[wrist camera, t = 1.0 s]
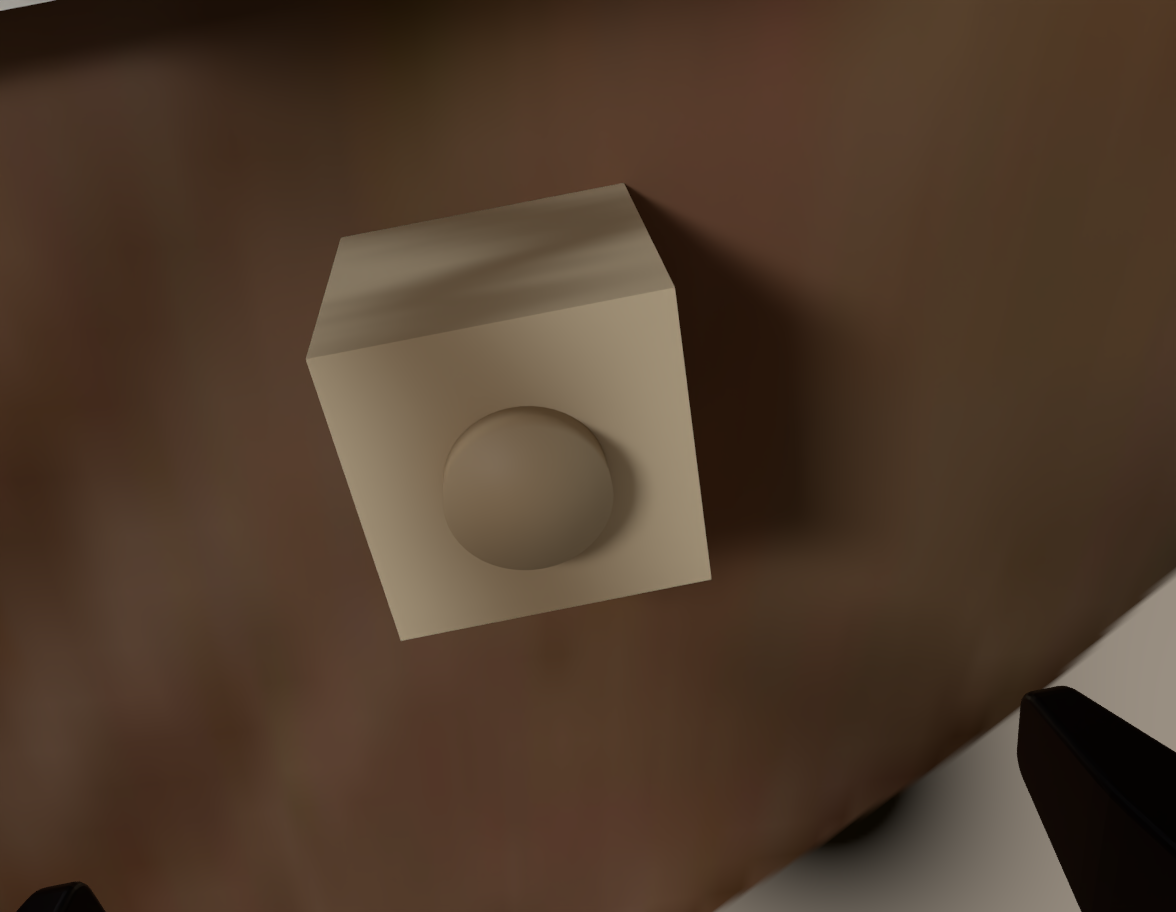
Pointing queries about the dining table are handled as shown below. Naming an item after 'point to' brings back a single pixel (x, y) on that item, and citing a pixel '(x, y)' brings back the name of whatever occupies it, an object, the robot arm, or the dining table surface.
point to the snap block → (512, 410)
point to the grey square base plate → (18, 3)
